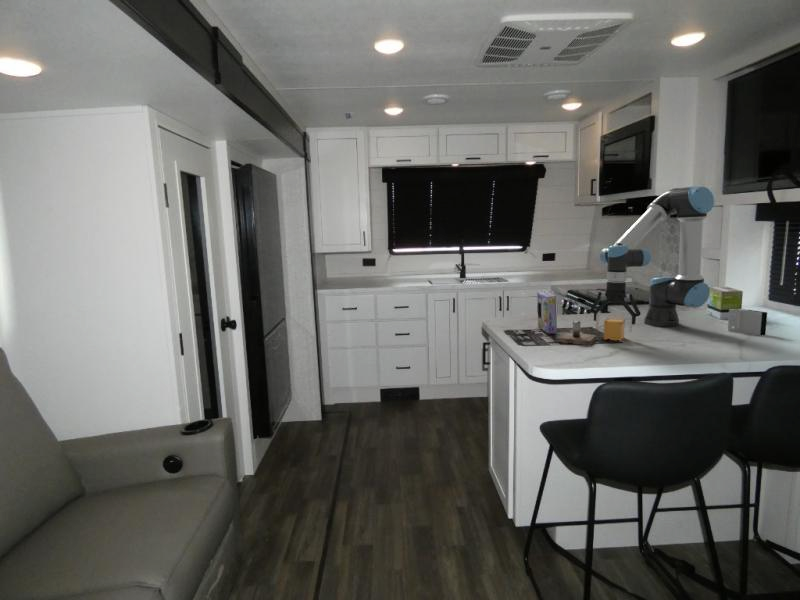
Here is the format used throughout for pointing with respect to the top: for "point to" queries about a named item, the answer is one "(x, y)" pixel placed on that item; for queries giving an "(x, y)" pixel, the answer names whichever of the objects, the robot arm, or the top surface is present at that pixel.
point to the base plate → (576, 338)
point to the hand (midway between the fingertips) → (613, 330)
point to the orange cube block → (614, 329)
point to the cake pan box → (547, 312)
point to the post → (576, 328)
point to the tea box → (723, 301)
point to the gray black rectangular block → (747, 321)
